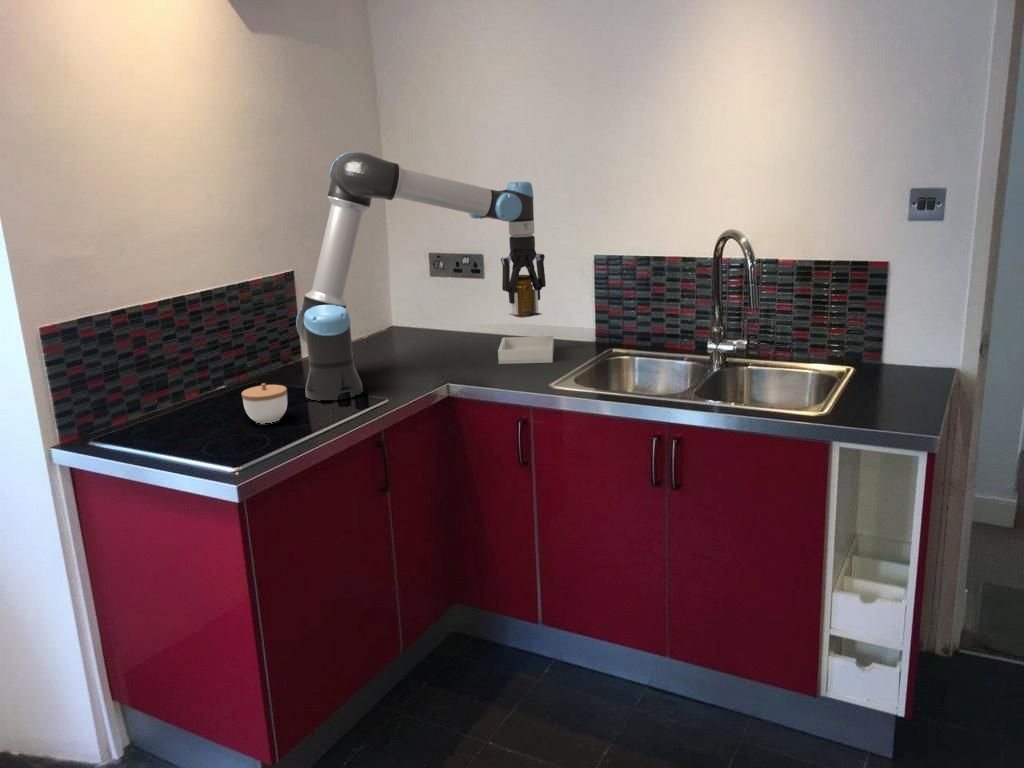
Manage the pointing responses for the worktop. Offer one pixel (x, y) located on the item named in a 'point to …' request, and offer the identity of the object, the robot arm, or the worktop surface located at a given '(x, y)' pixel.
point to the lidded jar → (265, 402)
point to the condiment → (525, 297)
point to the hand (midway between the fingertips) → (525, 312)
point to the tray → (526, 350)
